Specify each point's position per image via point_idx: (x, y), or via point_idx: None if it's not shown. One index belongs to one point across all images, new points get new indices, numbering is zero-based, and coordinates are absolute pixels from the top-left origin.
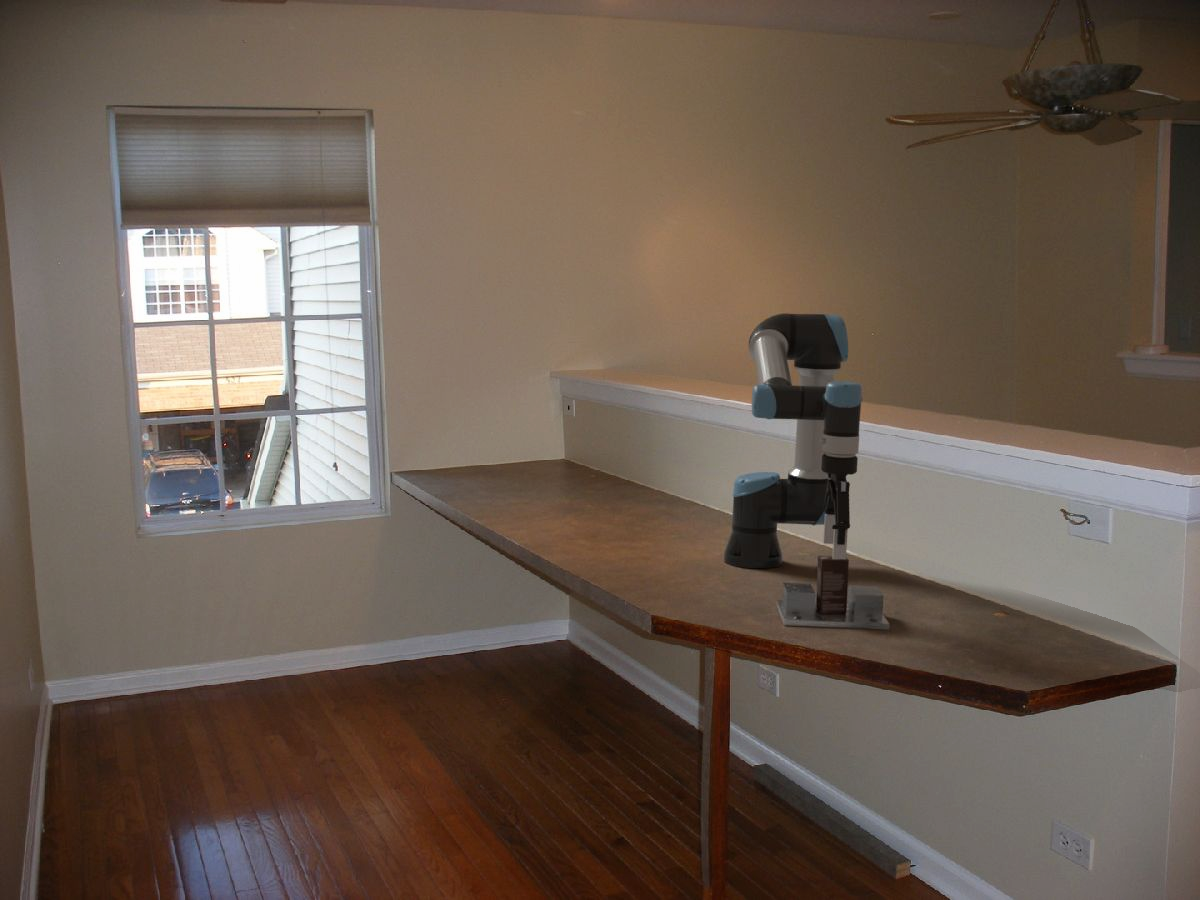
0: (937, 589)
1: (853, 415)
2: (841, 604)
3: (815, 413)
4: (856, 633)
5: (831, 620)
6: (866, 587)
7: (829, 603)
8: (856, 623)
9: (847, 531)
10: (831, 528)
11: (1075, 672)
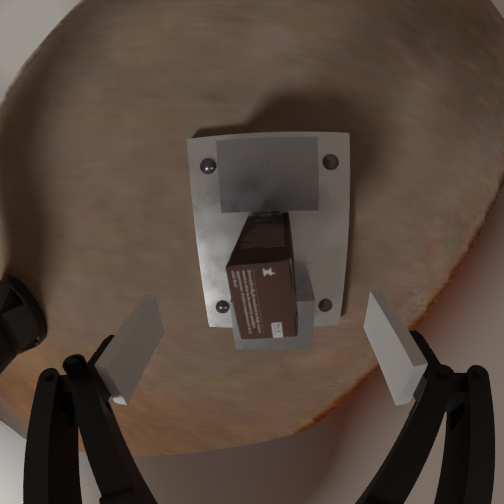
0: (58, 46)
1: None
2: (290, 229)
3: None
4: (378, 204)
5: (339, 248)
6: (235, 169)
7: (293, 256)
8: (349, 200)
9: (423, 356)
10: (139, 346)
11: None
